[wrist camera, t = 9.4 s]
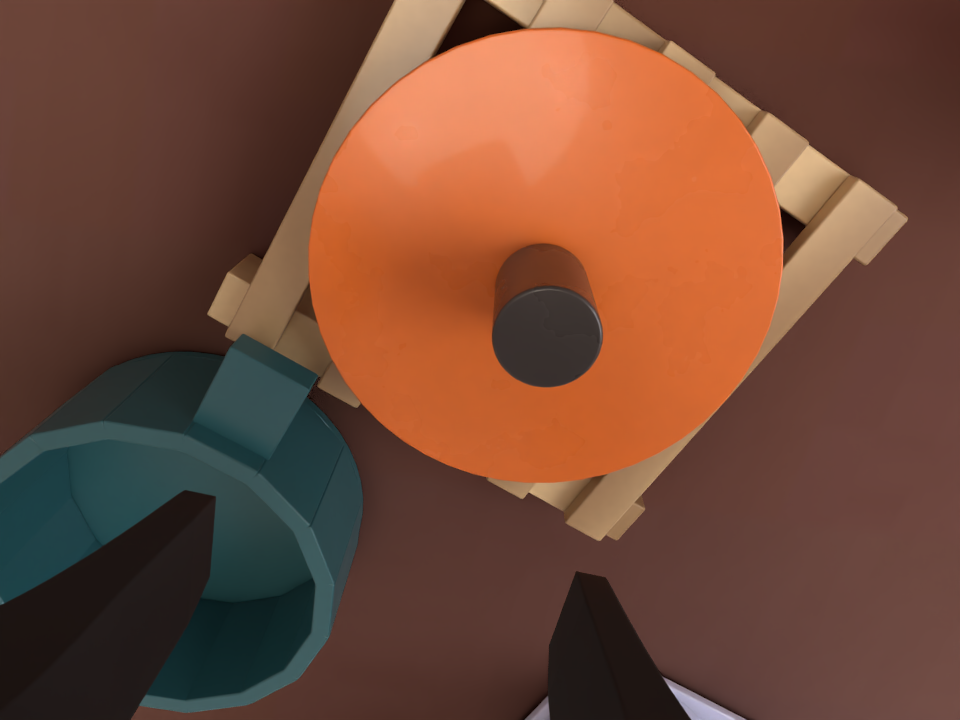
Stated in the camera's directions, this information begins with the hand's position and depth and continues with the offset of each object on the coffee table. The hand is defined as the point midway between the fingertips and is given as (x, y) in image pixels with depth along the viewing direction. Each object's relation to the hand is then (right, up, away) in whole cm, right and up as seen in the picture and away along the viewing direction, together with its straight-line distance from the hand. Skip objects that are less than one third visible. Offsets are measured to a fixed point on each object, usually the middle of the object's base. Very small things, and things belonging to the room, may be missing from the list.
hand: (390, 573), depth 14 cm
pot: (-8, -1, +12) cm, 14 cm away
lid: (+3, +6, +5) cm, 9 cm away
